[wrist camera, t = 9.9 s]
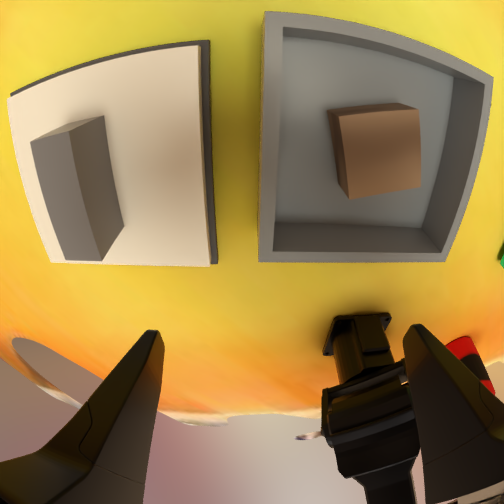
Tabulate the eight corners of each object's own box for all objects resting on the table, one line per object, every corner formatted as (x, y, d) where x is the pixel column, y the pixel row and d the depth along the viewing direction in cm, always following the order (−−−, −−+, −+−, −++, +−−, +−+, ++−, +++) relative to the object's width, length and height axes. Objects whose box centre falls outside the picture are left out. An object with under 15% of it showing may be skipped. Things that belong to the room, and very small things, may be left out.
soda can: (449, 364, 36) (470, 421, 26) (423, 365, 35) (444, 431, 25) (478, 335, 32) (505, 396, 22) (454, 334, 30) (484, 404, 21)
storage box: (422, 232, 20) (444, 261, 17) (257, 227, 20) (258, 262, 17) (457, 70, 12) (493, 77, 9) (261, 25, 12) (265, 11, 9)
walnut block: (403, 172, 17) (420, 187, 15) (338, 183, 18) (349, 199, 16) (399, 102, 14) (418, 109, 12) (326, 109, 15) (338, 116, 13)
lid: (211, 258, 21) (203, 306, 17) (56, 255, 21) (30, 292, 17) (201, 46, 12) (180, 36, 8) (15, 96, 12) (-31, 113, 8)
